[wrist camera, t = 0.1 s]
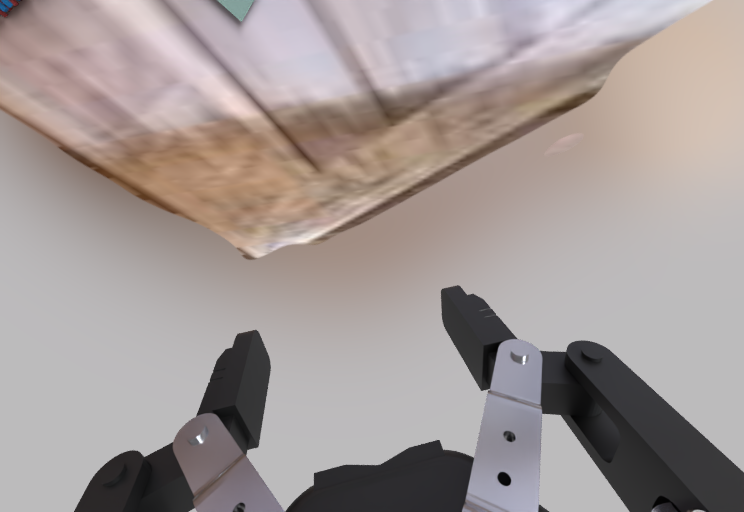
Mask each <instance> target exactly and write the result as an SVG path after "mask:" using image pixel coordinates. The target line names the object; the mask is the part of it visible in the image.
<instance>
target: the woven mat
mask: <svg viewBox="0 0 744 512" xmlns="http://www.w3.org/2000/svg"><path fill="white" fill-rule="evenodd" d="M17 1H20V0H17ZM17 1H16V0H0V15H2V16H4V17H6V16H8V14H7V13H5V12H7V11H11V10H12V9H13V8H12V6H17V5H18V4H19V3H18V2H17ZM21 1H22V0H21Z"/></svg>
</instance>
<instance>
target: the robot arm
mask: <svg viewBox="0 0 744 512" xmlns="http://www.w3.org/2000/svg"><path fill="white" fill-rule="evenodd" d="M441 302H442V320H443V324H444V327H445V329H446V331H447V333H448V334H449V336H450V338H451V340H452V341H453V343H454V345H455V346H456V348H457V350H458V351H459V353H460V355H461V357H462V358H463V360H464V362H465V364H466V365H467V367H468V369H469V371H470V372H471V374H472V376H473V377H474V379H475V381H476V383H477V384H478V386H479V388H480V389H481V391H483V390H487V389H490V391H488V394H487V398H486V403H485V408H484V413H483V418H482V422H481V427H480V432H479V437H478V442H477V447H476V452H475V456H474V458H473V457H471V456H469V455H466V454H463V453H460V452H457V451H451V450H443V449H442V446H441V443H440V440H437V441H433V442H429V443H425V444H421V445H418V446H414V447H410V448H408V449H406V450H405V451H403V452H401V453H400V454H398V455H396V456H395V457H393V458H391V459H389V460H388V461H386V462H384V463H383V464H381V465H343V466H339V467H336V468H332V469H328V470H325V471H320V472H317V473H314V485H313V486H312V487H310V488H309V489H307V490H306V491H304V492H303V493H302V494H301V495H300V496H299V497H298V498H297V499H296V500H295V501H294V502H293V503H292V504H291V505H290V506H289V507H288V509H287V510H286V512H549V511H547V510H546V509H545V508H543V507H542V506H541V505H539V479H540V454H541V427H542V414H556V415H561V416H562V418H563V419H564V420H565V422H566V423H567V425H568V426H569V427H570V429H571V430H572V432H573V433H574V434H575V436H576V437H577V439H578V440H579V441H580V443H581V444H582V446H583V447H584V448H585V450H586V451H587V453H588V454H589V455H590V457H591V458H592V460H593V461H594V462H595V464H596V465H597V466H598V468H599V469H600V471H601V472H602V473H603V475H604V476H605V478H606V479H607V480H608V482H609V483H610V485H611V486H612V487H613V489H614V490H615V491H616V493H617V494H618V496H619V497H620V498H621V500H622V501H623V503H624V504H625V506H626V507H627V508H628V510H629V511H630V512H744V472H743V471H741V470H740V469H739V468H738V467H737V466H736V465H735V464H734V463H733V462H732V461H731V460H729V459H728V458H727V457H726V456H725V455H724V454H723V453H722V452H721V451H719V450H718V449H717V448H716V447H715V446H714V445H713V444H712V443H710V441H709V440H708V439H706V438H705V437H704V436H703V435H702V434H701V433H700V432H699V431H698V430H697V429H695V428H694V427H693V426H692V425H691V424H690V423H689V422H688V421H687V420H685V418H683V417H682V416H681V415H680V414H679V413H678V412H677V411H676V410H675V409H674V408H672V407H671V406H670V405H669V404H668V403H667V402H666V401H665V400H664V399H662V397H660V396H659V395H658V394H657V393H656V392H655V391H654V390H653V389H652V388H651V387H649V386H648V385H647V384H646V383H645V382H644V381H643V380H642V379H641V378H640V377H638V376H637V375H636V374H635V373H634V372H633V371H632V370H631V369H630V368H628V366H626V365H625V364H624V363H623V362H622V361H621V360H620V359H619V358H618V357H617V356H616V355H614V354H613V353H612V352H611V351H610V350H609V349H607V348H606V347H604V346H602V345H600V344H597V343H594V342H590V341H575V342H572V343H571V344H569V345H568V347H567V351H566V352H546V351H539V350H538V348H537V347H535V346H534V345H533V344H531V343H529V342H526V341H523V340H519V339H517V338H516V337H515V336H514V334H513V333H512V332H511V331H510V330H509V329H508V328H507V326H506V325H505V324H504V323H503V322H502V320H501V319H500V318H499V317H498V316H496V313H495V312H494V311H493V310H492V309H491V308H490V307H489V305H488V304H487V303H486V302H485V301H484V300H483V299H482V298H480V297H478V296H476V295H474V294H471V295H467V294H466V293H465V292H464V291H463V289H462V288H461V287H460V286H458V285H457V286H453V287H449V288H444V289H442V290H441ZM270 369H271V366H270V359H269V356H268V353H267V351H266V348H265V346H264V344H263V341H262V339H261V336H260V334H259V332H258V331H257V330H253V331H248V332H244V333H239V334H237V336H236V338H235V341H234V344H233V347H232V348H229V349H226V350H225V351H224V352H223V353H222V355H221V356H220V357H219V358H218V360H217V362H216V365H215V367H214V370H213V373H212V375H211V378H210V382H209V383H208V386H207V389H206V392H205V394H204V397H203V400H202V402H201V405H200V408H199V411H198V413H197V416H196V417H195V418H193V419H191V420H190V421H189V422H187V423H186V424H185V425H184V426H183V427H182V428H181V429H180V430H179V432H178V433H177V435H176V437H175V439H174V442H172V443H171V444H169V445H167V446H165V447H163V448H162V449H159V450H157V451H155V452H154V453H152V454H150V455H148V456H146V457H144V456H143V455H142V454H141V453H140V452H138V451H127V452H124V453H122V454H120V455H118V456H116V457H114V458H113V459H111V460H110V461H109V462H107V463H106V464H105V465H104V466H103V467H102V468H101V469H100V470H99V471H98V472H97V473H96V474H95V476H94V477H93V478H92V480H91V481H90V483H89V485H88V486H87V488H86V490H85V492H84V494H83V496H82V498H81V500H80V502H79V503H78V505H77V507H76V509H75V511H74V512H189V511H190V510H192V509H194V508H196V511H197V512H285V511H284V510H283V508H282V507H281V505H280V504H279V503H278V501H277V500H276V498H275V497H274V495H273V494H272V493H271V491H270V490H269V488H268V487H267V485H266V484H265V482H264V481H263V480H262V478H261V477H260V475H259V474H258V472H257V471H256V469H255V468H254V466H253V465H252V464H251V462H250V461H249V459H248V458H247V456H246V454H247V450H249V449H252V448H257V447H258V446H259V440H260V433H261V427H262V421H263V414H264V408H265V402H266V396H267V389H268V383H269V376H270Z"/></svg>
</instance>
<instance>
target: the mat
mask: <svg viewBox="0 0 744 512" xmlns="http://www.w3.org/2000/svg"><path fill="white" fill-rule="evenodd" d="M218 1H219V2H220V3H221V4H222V5H223V6H224V7H225V8H226V9H227V10H229V11H230V12H231V13H232V14H233V15H234V16H235V17H236V18H237V19H239V20H240V21H241V22H242V20H243V18H244V17H245V15H246V13H247V12H248V10H249V8H250V6H251V5H252V3H253V1H254V0H218Z"/></svg>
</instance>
